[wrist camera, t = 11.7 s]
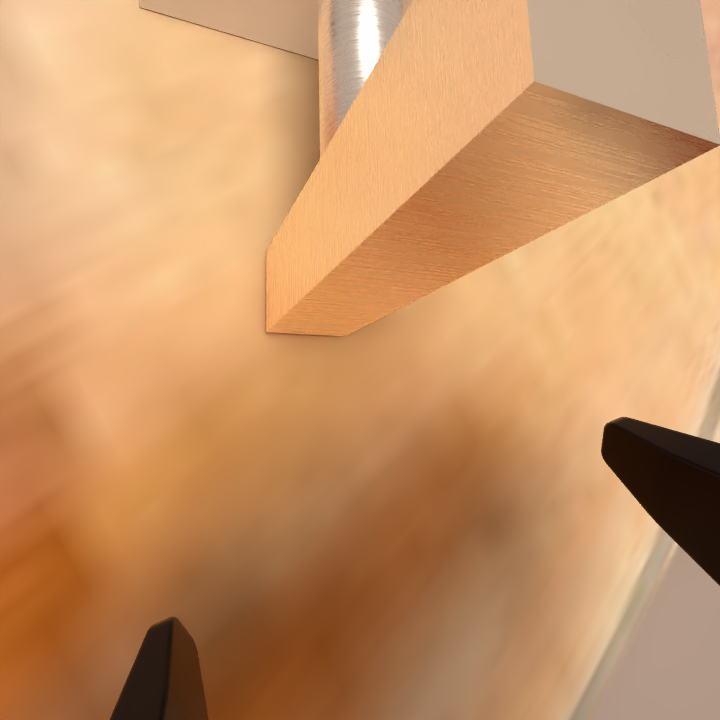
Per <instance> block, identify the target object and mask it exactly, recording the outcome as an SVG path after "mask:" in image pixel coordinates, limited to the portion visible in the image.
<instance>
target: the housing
mask: <svg viewBox="0 0 720 720" xmlns="http://www.w3.org/2000/svg"><path fill="white" fill-rule="evenodd" d="M412 1H413V0H403V13H404V15H405V13H406V11H407V9H408V8H409V6H410V4H411V3H412ZM139 5H140V7H141V8H145V9H148V10H151V11H155V12H158V13H162V14H165V15H168V16H172V17H175V18H179V19H182V20H185V21H189V22H192V23H195V24H199V25H202V26H206V27H209V28H212V29H216V30H219V31H223V32H226V33H229V34H233V35H236V36H240V37H243V38H246V39H250V40H253V41H257V42H260V43H263V44H267V45H270V46H273V47H277V48H280V49H284V50H287V51H290V52H294V53H297V54H301V55H304V56H307V57H311V58H314V59H318V60H319V52H318V0H139Z"/></svg>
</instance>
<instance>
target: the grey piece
mask: <svg viewBox="0 0 720 720" xmlns="http://www.w3.org/2000/svg"><path fill="white" fill-rule="evenodd" d="M318 52H319V116H320V160H319V162H318V164H317V165H316V167H315V169H314V171H313V172H312V174H311V176H310V177H309V179H308V181H307V183H306V184H305V186H304V188H303V189H302V191H301V193H300V195H299V196H298V198H297V200H296V201H295V203H294V205H293V207H292V208H291V210H290V212H289V213H288V215H287V217H286V219H285V220H284V222H283V224H282V225H281V227H280V229H279V231H278V232H277V234H276V236H275V237H274V239H273V241H272V243H271V244H270V246H269V248H268V249H267V251H266V332H273V333H292V334H311V335H330V336H347V335H349V334H351V333H353V332H355V331H356V330H358V329H360V328H362V327H364V326H366V325H368V324H370V323H372V322H374V321H376V320H378V319H380V318H382V317H384V316H386V315H388V314H390V313H392V312H394V311H396V310H398V309H400V308H402V307H404V306H406V305H408V304H409V303H411V302H413V301H415V300H417V299H419V298H421V297H423V296H425V295H427V294H429V293H431V292H433V291H435V290H437V289H439V288H441V287H443V286H445V285H447V284H449V283H451V282H453V281H455V280H457V279H459V278H461V277H462V276H464V275H466V274H468V273H470V272H472V271H474V270H476V269H478V268H480V267H482V266H484V265H486V264H488V263H490V262H492V261H494V260H496V259H498V258H500V257H502V256H504V255H506V254H508V253H510V252H512V251H513V250H515V249H517V248H519V247H521V246H523V245H525V244H527V243H529V242H531V241H533V240H535V239H537V238H539V237H541V236H543V235H545V234H547V233H549V232H551V231H553V230H555V229H557V228H559V227H561V226H563V225H565V224H566V223H568V222H570V221H572V220H574V219H576V218H578V217H580V216H582V215H584V214H586V213H588V212H590V211H592V210H594V209H596V208H598V207H600V206H602V205H604V204H606V203H608V202H610V201H612V200H614V199H616V198H618V197H619V196H621V195H623V194H625V193H627V192H629V191H631V190H633V189H635V188H637V187H639V186H641V185H643V184H645V183H647V182H649V181H651V180H653V179H655V178H657V177H659V176H661V175H663V174H665V173H667V172H669V171H670V170H672V169H674V168H676V167H678V166H680V165H682V164H684V163H686V162H688V161H690V160H692V159H694V158H696V157H698V156H700V155H702V154H704V153H706V152H708V151H710V150H712V149H714V148H716V147H718V146H720V135H719V128H718V121H717V114H716V107H715V100H714V93H713V87H712V80H711V73H710V66H709V59H708V52H707V45H706V38H705V31H704V24H703V17H702V10H701V3H700V0H413V1H412V3H411V4H410V6H409V8H408V9H407V11H406V13H405V15H404V13H403V0H318Z"/></svg>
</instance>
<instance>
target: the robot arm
mask: <svg viewBox="0 0 720 720" xmlns="http://www.w3.org/2000/svg"><path fill="white" fill-rule="evenodd" d="M601 453H602V457H603V459H604V461H605V462H606V464H607V465H608V466H609V467H610V468H611V470H612V471H613V472H614V473H615V474H616V476H617V477H618V478H619V479H620V480H621V482H622V483H623V484H624V485H625V486H626V488H627V489H628V490H629V491H630V492H631V493H632V495H633V496H634V497H635V498H636V499H637V501H638V502H639V503H640V504H641V505H642V507H643V508H644V509H645V510H646V511H647V513H648V514H649V515H650V516H651V517H652V518H653V519H654V520H655V522H656V523H657V524H658V525H659V526H660V527H661V528H662V529H663V530H664V531H665V532H666V533H667V534H668V535H669V536H670V537H671V538H672V539H673V540H674V541H675V542H676V543H677V544H678V545H679V546H680V547H681V548H682V549H683V550H684V551H685V552H686V553H687V554H688V555H689V556H690V557H691V558H692V559H693V560H694V561H695V562H696V563H697V564H698V565H699V566H700V567H702V569H703V570H705V572H706V573H707V574H708V575H709V576H711V578H712V579H713V580H714V581H715V582H717V584H718V585H720V443H717V442H713V441H710V440H706V439H703V438H699V437H695V436H692V435H688V434H685V433H681V432H678V431H674V430H671V429H667V428H664V427H660V426H656V425H653V424H649V423H646V422H642V421H639V420H635V419H632V418H628V417H620V418H618V419H615V420H613V421H611V422H609V423H607V424H606V425H605V427H604V431H603V439H602V447H601ZM110 720H208V714H207V708H206V702H205V696H204V689H203V683H202V677H201V671H200V665H199V658H198V652H197V648H196V645H195V642H194V640H193V638H192V637H191V636H190V634H189V633H188V631H187V630H186V629H185V627H184V626H183V625H182V623H181V622H180V621H179V619H178V618H177V617H174V616H172V617H169V618H167V619H165V620H162V621H160V622H158V623H156V624H154V625H152V626H151V627H150V628H149V630H148V632H147V634H146V636H145V638H144V641H143V643H142V645H141V648H140V650H139V652H138V655H137V657H136V659H135V662H134V664H133V666H132V669H131V671H130V674H129V676H128V678H127V681H126V683H125V685H124V688H123V690H122V692H121V695H120V697H119V699H118V702H117V704H116V706H115V709H114V711H113V713H112V716H111V718H110Z"/></svg>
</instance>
